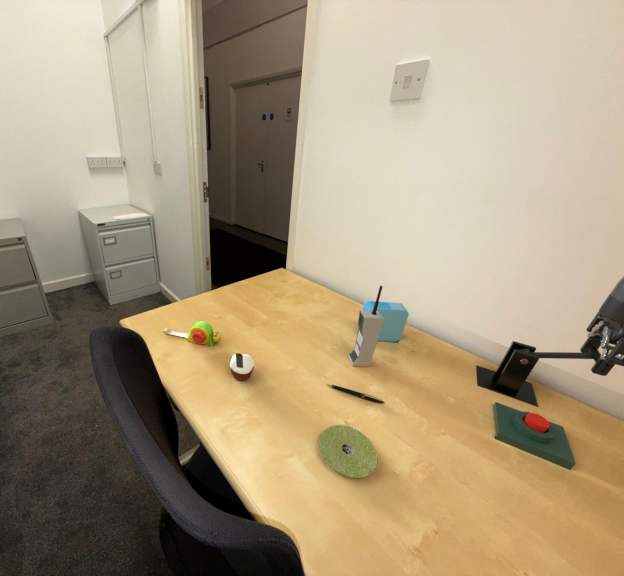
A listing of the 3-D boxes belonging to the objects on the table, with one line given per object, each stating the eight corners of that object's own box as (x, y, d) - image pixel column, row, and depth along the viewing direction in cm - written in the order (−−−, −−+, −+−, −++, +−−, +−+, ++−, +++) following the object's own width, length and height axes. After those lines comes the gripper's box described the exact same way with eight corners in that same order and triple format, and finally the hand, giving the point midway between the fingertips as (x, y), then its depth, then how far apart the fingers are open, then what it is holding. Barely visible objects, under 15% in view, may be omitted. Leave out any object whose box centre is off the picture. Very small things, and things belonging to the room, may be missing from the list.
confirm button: (544, 423, 64) (548, 417, 64) (547, 435, 62) (551, 430, 61) (522, 415, 66) (526, 409, 65) (525, 427, 64) (528, 421, 63)
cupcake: (240, 362, 85) (241, 327, 80) (259, 370, 82) (261, 335, 77) (220, 382, 78) (220, 346, 72) (241, 393, 75) (241, 356, 70)
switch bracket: (529, 386, 79) (554, 348, 73) (536, 409, 72) (563, 370, 66) (474, 368, 84) (493, 331, 78) (475, 388, 78) (496, 349, 72)
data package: (394, 334, 98) (404, 303, 92) (399, 342, 94) (410, 310, 88) (357, 331, 99) (364, 300, 94) (360, 339, 95) (368, 307, 90)
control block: (558, 433, 66) (567, 421, 65) (570, 470, 59) (581, 458, 57) (491, 407, 72) (498, 396, 70) (494, 439, 65) (502, 427, 63)
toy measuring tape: (216, 351, 89) (215, 333, 86) (159, 337, 95) (157, 320, 91) (224, 339, 95) (223, 321, 91) (170, 326, 100) (168, 310, 97)
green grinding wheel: (387, 473, 58) (390, 467, 57) (337, 490, 55) (339, 485, 54) (352, 425, 67) (354, 419, 67) (308, 437, 65) (309, 431, 64)
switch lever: (597, 353, 67) (597, 344, 67) (606, 367, 63) (605, 358, 63) (513, 353, 76) (512, 344, 76) (516, 365, 72) (515, 356, 72)
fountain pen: (324, 387, 77) (325, 383, 77) (325, 384, 78) (326, 379, 78) (384, 406, 72) (385, 401, 72) (384, 402, 73) (385, 398, 72)
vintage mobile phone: (348, 357, 88) (366, 282, 76) (365, 358, 87) (386, 282, 76) (352, 366, 84) (371, 289, 72) (369, 367, 84) (392, 289, 72)
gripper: (689, 322, 52) (629, 390, 59) (650, 290, 62) (604, 351, 70) (626, 309, 55) (577, 375, 63) (599, 281, 66) (560, 340, 73)
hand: (591, 362), depth 66 cm, fingers open, 7 cm apart
